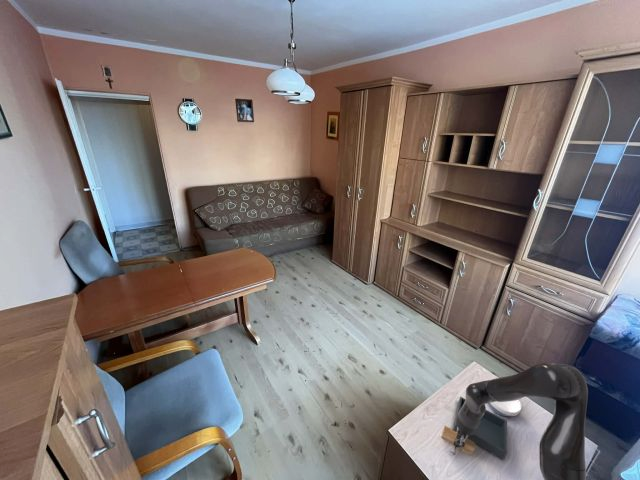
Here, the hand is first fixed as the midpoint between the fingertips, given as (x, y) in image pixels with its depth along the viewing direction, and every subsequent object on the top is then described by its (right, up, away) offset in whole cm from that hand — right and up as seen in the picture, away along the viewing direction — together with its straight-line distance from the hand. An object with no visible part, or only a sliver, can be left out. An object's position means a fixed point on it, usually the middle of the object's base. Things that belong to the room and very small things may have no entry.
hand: (456, 442), depth 114 cm
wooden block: (-1, -2, -1) cm, 2 cm away
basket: (+14, 0, +8) cm, 16 cm away
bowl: (+31, +3, +18) cm, 36 cm away
